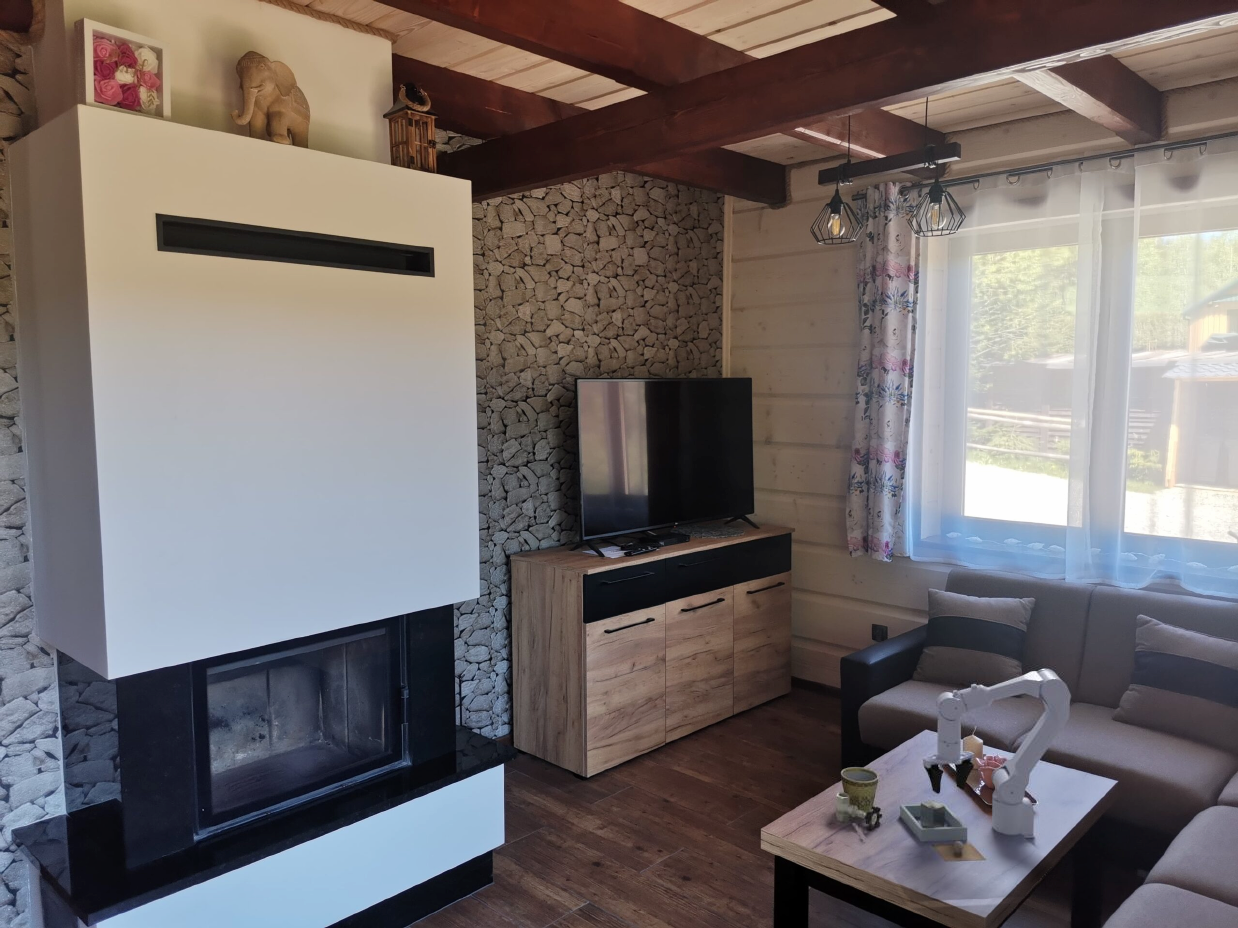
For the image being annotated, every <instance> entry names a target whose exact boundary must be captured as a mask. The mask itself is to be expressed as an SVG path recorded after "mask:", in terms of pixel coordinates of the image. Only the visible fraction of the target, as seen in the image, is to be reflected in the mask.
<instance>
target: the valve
mask: <svg viewBox="0 0 1238 928" xmlns="http://www.w3.org/2000/svg"><path fill="white" fill-rule="evenodd" d="M834 809H835V811H836V820H837V821H839V822H845V823H846V822H850V817H852V818H856V817H859V818H861V819H865V822H864V823H865V824H866V825H868V826H867V828H866V830H867V831H869V832H870V831H873V829H876V828H877V826H878V827H879V826H881V821H880V820H881V819H882V818H883V813H880V812H881V810H882V809H881V807H879V806H875V805H873V806H872V808H871V809H872V811H871V812H869V811H868V813H866V814H865V812H864V811H861V810H858V808H857V806H855V805H851V804H850V795H849V794H847V793H844V792H837V793H836V802H835V803H834Z"/></svg>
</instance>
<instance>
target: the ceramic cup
mask: <svg viewBox="0 0 1238 928" xmlns="http://www.w3.org/2000/svg"><path fill="white" fill-rule="evenodd" d="M840 778H841V784H842V789H843V793H847V794H849V795H850V804H851V805H855V806H857V808H858V810H861V811H864V812H865V814H866V813H868V811H869V812H872V811H873V809H871V808H872V806H874V803H875V797H876V792H877V789H878V783H879V774H878V773H876V772H875V771H874V770H873V769H871V768H865V767H858V766H855V767H854V766H853V767H847V768H844V769H842V770H841V771H840Z"/></svg>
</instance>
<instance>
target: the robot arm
mask: <svg viewBox="0 0 1238 928" xmlns="http://www.w3.org/2000/svg"><path fill="white" fill-rule="evenodd" d="M1022 694H1026V695H1030V696H1032V697H1034V698H1037V699H1038V698H1040V696H1041V700H1042V702H1043V706H1044V708H1045V710H1044V712H1043V713H1042V715H1041V716H1040V718H1039V719H1038V720H1037V722H1036V724H1035V725H1034V727H1032V729H1031V730H1030V732H1029V733H1028V735H1027V736H1026V737H1025V739H1024V740H1023V742H1022V744H1021V745H1020V746H1019V748H1018V749H1017V750H1016V752H1015V754H1013V756H1012V757H1011V758H1010V759H1007V760H1005V761H1004V762H1003V764H1002V765H1000V766H998V767H997V768H995V769H994V770H993V772H992V773H991V781H992V784H993V786H995V789H994V791H993V793H992V809H991V811H992V812H991V815H992V817H991V818H992V819H991V820H992V821H991V826H992V829H993V830H994V831H996V832H997V833H1000V834H1003V835H1009V836H1016V835H1017V836H1018V835H1021V836H1023V838H1025V839H1035V838H1036V835H1035V834H1034V831H1035V830H1034V827H1035V826H1034V825H1035V823H1034V822H1035V818H1034V817H1035V816H1034V814H1035V812H1034V807H1033V806H1034V805H1033V803H1032V802H1031V800H1030V799H1029V798H1028V797H1025V794H1026V793H1025V792H1026V789H1027V787H1028V785H1029V781H1030V775H1031V773H1032V771H1033V769H1034V768H1035V767H1036V766H1037V764H1038V763H1039V761H1040V760H1041V759H1042V757H1043V756H1044V754H1045V753H1046V752H1047V750H1048V749H1049V747H1050V746H1051V745H1052V743H1053V741H1055V739H1056V737H1057V736H1058V734H1060V732H1061V731H1062V729H1063V728H1064V726H1065V724H1066V723H1067V721H1068V720H1069V718H1070V714H1071V713H1070V707H1071V704H1070V703H1071V702H1070V701H1071V699H1072V695H1071V692H1070V690H1069V687H1068V686H1067V684H1066V682H1064V681H1063V680H1062V679H1061V678H1060V677H1059V676H1058V674H1057V673H1056V672H1055V671H1054V670H1052V669H1050V668H1042V669H1039V670H1038V671H1036V670H1034V671H1029V672H1028V673H1025V674H1023V675H1021V676H1018V677H1015V678H1012V679H1009V680H1006V681H1003V682H1000V683H997V684H995V685H992V686H984V685H983V684H978V685H977V683H973V684H971V685H970V687H968V688H963V689H961V690H957V689H954V690H952V692H948V691H945V692H942V693H941V694H939V696H938V697H937V700H936V701H935V704H936V707H937V709H938V712H937V713H938V714H937V718H938V720H937V749H936V750H937V751H936V753H934V754H932V755H929V756H926V757H923V758H922V765H923V768H924V769H925V771H926V773H927V775H928V778H929V781H930V784H931V789H932V790H931V791H932V792H934V793H936V794H938V795H939V794H941V787H942V785H941V782H942V777H943V774H944V772H945V771H944V770H942V769H941V768H940V766H942V765H943V766H944V765H948V764H953V765H954V766H955V767H954V768H955V777H956V778H955V779H956V780H955V782H956V787H957V788H959V789H960V790H965V787H966V784H967V781H968V777H969V775H970V773H971V772H972V771H973V769H974V766H975V764H974V763H973V762H974V761H975V753H973V752H971V751H970V750H968V751H961V743H962V742H961V739H962V738H961V737H962V735H961V734H962V733H961V732H962V724H961V717H962V716H963V715H964V714H967V713H971V712H974V711H978V710H981V709H985V708H989V707H990V706H991V705H992V703H993V702H994V701H995V700H1001V699H1004V698H1010V697H1014V696H1017V695H1022Z"/></svg>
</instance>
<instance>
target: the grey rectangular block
mask: <svg viewBox="0 0 1238 928" xmlns="http://www.w3.org/2000/svg"><path fill="white" fill-rule="evenodd" d="M940 803H941V802H938V801H937V800H934V799H930V800H926V801H922V802H920V804H921V817H920V825H921V826H922V828H939V827H946V826H945V824H946V821H945V806H944V805H942V804H940Z"/></svg>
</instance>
